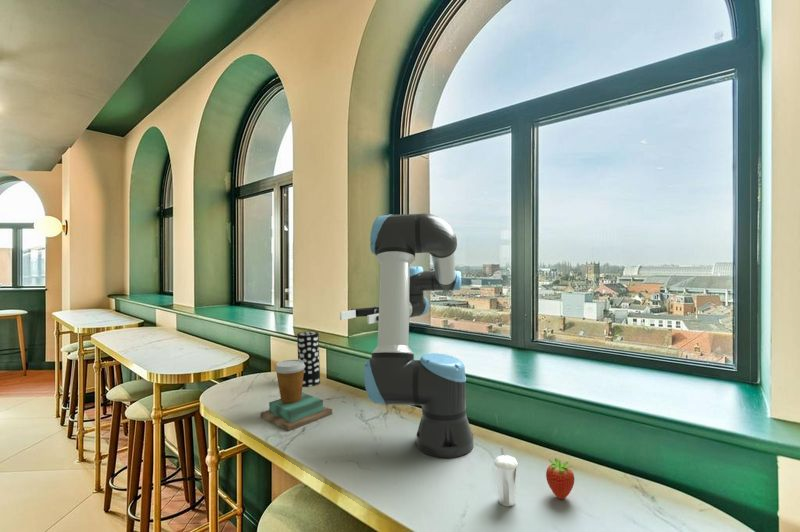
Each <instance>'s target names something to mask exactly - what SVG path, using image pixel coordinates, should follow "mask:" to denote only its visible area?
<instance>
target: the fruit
mask: <svg viewBox="0 0 800 532" xmlns="http://www.w3.org/2000/svg"><path fill="white" fill-rule="evenodd" d="M548 460H549V462H550V463H551V464H550V465H549V466H548V467H547V468H546V470H545V478H546V482H547V484H548V486H549V488H550V490H551V491H552V493H553V494H554V495H555V497H557V498H558V499H559V500H564V499H566V498H567V497H568V496H569V495H570V493H571V492H572V490H573V487H574V485H575V475H574V472H573V470H572V469H571V467H572V465H569V466H568V464H569V461H565V462H564V463H563V462H561V460H559V459H558V458H557V457H555V458H554V461H553V460H551V459H548Z"/></svg>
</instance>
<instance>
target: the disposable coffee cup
mask: <svg viewBox="0 0 800 532" xmlns="http://www.w3.org/2000/svg"><path fill="white" fill-rule="evenodd" d="M304 368H305V364H304V362H303V361H302V360H298V359H285V360H281V361H278V362H276V364H275V367H274V371H275V372H276V378H277V383H278V389H279V396H280V399H281V402H283V403H295V402H298V401H300V400H301V397H302V393H303V375H304Z"/></svg>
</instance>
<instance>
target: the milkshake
mask: <svg viewBox="0 0 800 532" xmlns="http://www.w3.org/2000/svg"><path fill="white" fill-rule="evenodd" d="M518 465H519V463H518V461H517V459H516V457H514V456H511V455H504V447H503V446H502V445H500V455H498V456H497V457H496V458H495V459H494V468H495V479H496V489H497V499H498V502H499V504H500V505H502V506H504V507H512V506H514V505H515V503H516V494H517V477H518V467H519V466H518Z"/></svg>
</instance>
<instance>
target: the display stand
mask: <svg viewBox="0 0 800 532" xmlns="http://www.w3.org/2000/svg"><path fill="white" fill-rule="evenodd" d="M268 404H269V405H268V406H269V407H268V409H267V410H264V411H261V412H260V418H261V419H263V420H265V421H267V422H269V423H271V424H273V425H275V426H277V427H279V428H281V429H283V430H285V431H288V432H290V431H294V430H295V429H298V428H300V427H303V426H306V425H308V424H311V423H313V422H316V421H318V420H320V419H323V418H326V417H329V416H330V415H333V409H332V408H329V407H327V406H324V399H321V398H319V397H316V396H313V395H310V394H307V393H305V392H302V397H301V400H300V401H298V402H295V403H283V402H281V398H278V399H274V400H272V401H270V402H268Z"/></svg>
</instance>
